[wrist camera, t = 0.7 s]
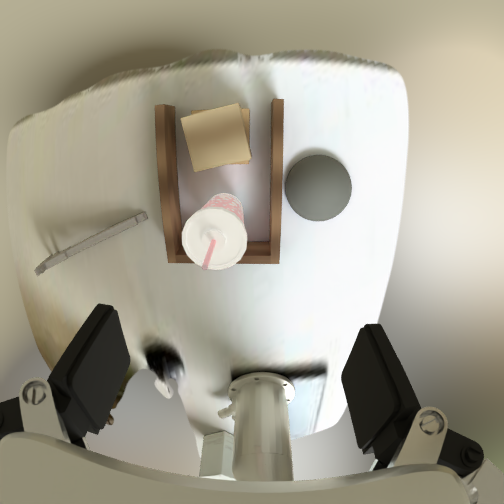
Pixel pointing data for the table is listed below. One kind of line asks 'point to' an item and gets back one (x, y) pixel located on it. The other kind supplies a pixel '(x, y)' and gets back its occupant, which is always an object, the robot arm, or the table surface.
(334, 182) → the coaster
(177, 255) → the rack
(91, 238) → the caliper
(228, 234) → the beverage cup
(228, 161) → the offcut upper
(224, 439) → the supplement box
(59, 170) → the table surface
